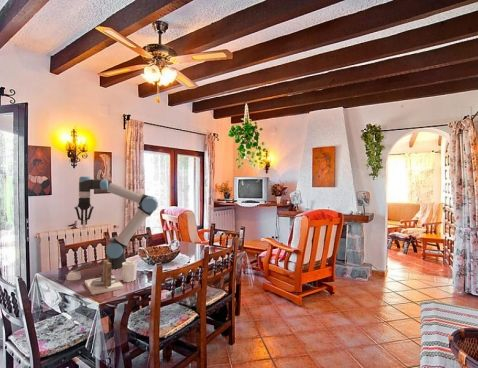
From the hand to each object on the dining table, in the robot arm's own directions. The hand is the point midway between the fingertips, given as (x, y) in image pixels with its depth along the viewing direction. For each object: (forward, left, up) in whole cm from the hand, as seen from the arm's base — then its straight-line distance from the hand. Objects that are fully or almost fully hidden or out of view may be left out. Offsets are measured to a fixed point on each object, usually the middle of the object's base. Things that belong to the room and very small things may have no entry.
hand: (83, 229), depth 213 cm
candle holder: (-23, +35, -33) cm, 53 cm away
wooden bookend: (-6, +40, -30) cm, 50 cm away
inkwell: (+3, +10, -33) cm, 34 cm away
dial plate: (-6, +37, -32) cm, 50 cm away
